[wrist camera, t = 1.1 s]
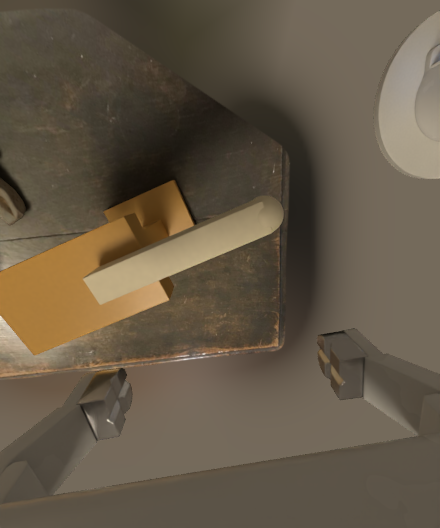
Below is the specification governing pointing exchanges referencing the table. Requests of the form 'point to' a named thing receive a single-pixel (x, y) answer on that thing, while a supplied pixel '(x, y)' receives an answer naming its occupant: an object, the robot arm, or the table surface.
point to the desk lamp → (81, 264)
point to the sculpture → (10, 204)
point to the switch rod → (185, 249)
